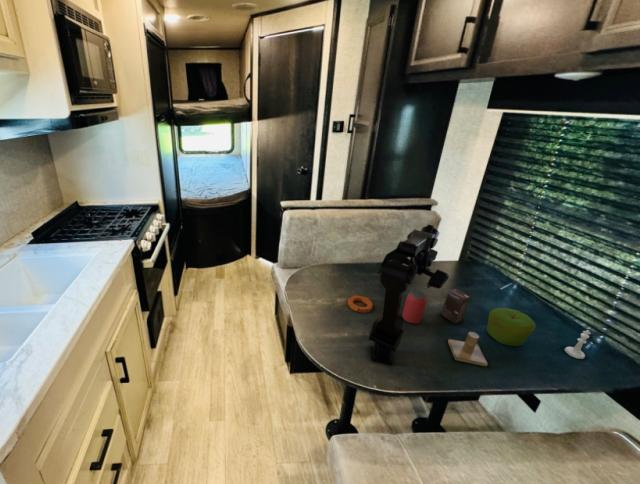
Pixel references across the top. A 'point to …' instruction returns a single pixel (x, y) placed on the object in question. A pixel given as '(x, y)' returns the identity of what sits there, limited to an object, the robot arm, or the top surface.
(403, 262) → the robot arm
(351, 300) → the ring
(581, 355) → the chess piece
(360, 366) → the top surface
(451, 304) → the box
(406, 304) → the beer can
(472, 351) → the square plate with peg
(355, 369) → the top surface
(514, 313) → the apple
